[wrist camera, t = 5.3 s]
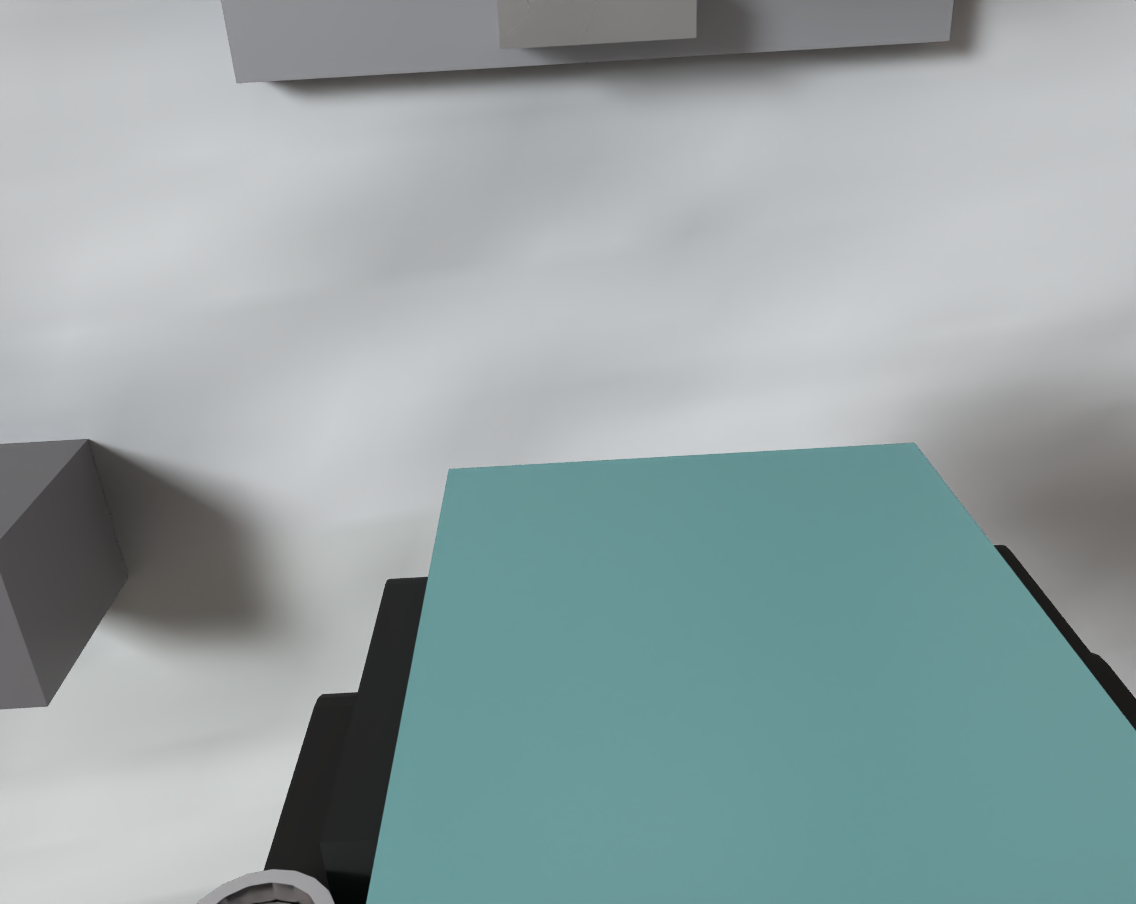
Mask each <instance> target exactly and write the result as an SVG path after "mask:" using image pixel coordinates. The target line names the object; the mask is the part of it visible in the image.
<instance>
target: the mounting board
mask: <svg viewBox="0 0 1136 904" xmlns="http://www.w3.org/2000/svg"><path fill="white" fill-rule="evenodd" d="M953 2H954V0H697V12H696V38H685V39H668V40H651V41H634V42H617V43H600V44H583V45H566V46H549V47H532V48H515V49H500V39H499V26H498V12H497V0H221V3H222V8H223V14H224V19H225V24H226V30H227V35H228V40H229V46H230V51H231V56H232V62H233V67H234V72H235V77H236V83H248V82H265V81H282V80H299V79H316V78H333V77H350V76H366V75H383V74H400V73H417V72H434V71H451V70H468V69H485V68H502V67H519V66H536V65H553V64H570V63H587V62H604V61H621V60H637V59H654V58H671V57H688V56H705V55H722V54H739V53H756V52H773V51H790V50H807V49H824V48H841V47H858V46H875V45H892V44H908V43H925V42H942V41H949V39H950V30H951V21H952V12H953Z"/></svg>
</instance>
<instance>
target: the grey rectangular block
mask: <svg viewBox="0 0 1136 904" xmlns="http://www.w3.org/2000/svg"><path fill="white" fill-rule="evenodd" d="M127 578H128V575H127V572H126V568H125V565H124V562H123V558H122V555H121V551H120V548H119V544H118V541H117V537H116V534H115V531H114V527H113V524H112V520H111V517H110V513H109V510H108V506H107V503H106V500H105V496H104V493H103V489H102V486H101V482H100V479H99V475H98V472H97V469H96V465H95V462H94V458H93V455H92V451H91V448H90V444H89V441H88V439H81V440H63V441H46V442H29V443H12V444H0V709H13V708H30V707H46V706H48V705H49V703H50V702H51V700H52V699H53V697H54V695H55V694H56V692H57V691H58V689H59V687H60V686H61V684H62V683H63V681H64V679H65V678H66V676H67V675H68V673H69V671H70V670H71V668H72V667H73V665H74V663H75V662H76V660H77V659H78V657H79V655H80V654H81V652H82V650H83V649H84V647H85V646H86V644H87V642H88V641H89V639H90V638H91V636H92V634H93V633H94V631H95V630H96V628H97V626H98V625H99V623H100V622H101V620H102V618H103V617H104V615H105V614H106V612H107V610H108V609H109V607H110V606H111V604H112V602H113V601H114V599H115V598H116V596H117V594H118V593H119V591H120V590H121V588H122V586H123V585H124V583H125V582H126V580H127Z"/></svg>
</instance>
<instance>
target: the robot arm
mask: <svg viewBox="0 0 1136 904" xmlns="http://www.w3.org/2000/svg"><path fill="white" fill-rule="evenodd" d="M993 546H994V547H995V548H996V549H997V551H998V552H999V553H1000V555H1001V556H1002V557H1003V559H1004V560H1005V561H1006V562H1007V564H1008V565H1009V566H1010V568H1011V569H1012V570H1013V572H1014V573H1015V574H1016V575H1017V577H1018V578H1019V579H1020V581H1021V582H1022V583H1023V585H1024V586H1025V587H1026V589H1027V590H1028V591H1029V592H1030V594H1031V595H1032V596H1033V598H1034V599H1035V600H1036V602H1037V603H1038V604H1039V605H1040V607H1041V608H1042V609H1043V611H1044V612H1045V613H1046V615H1047V616H1048V617H1049V618H1050V620H1051V621H1052V622H1053V624H1054V625H1055V626H1056V628H1057V629H1058V630H1059V631H1060V633H1061V634H1062V635H1063V637H1064V638H1065V639H1066V641H1067V642H1068V643H1069V645H1070V646H1071V647H1072V648H1073V650H1074V651H1075V652H1076V654H1077V655H1078V656H1079V658H1080V659H1081V660H1082V661H1083V663H1084V664H1085V665H1086V667H1087V668H1088V669H1089V671H1090V672H1091V673H1092V674H1093V676H1094V677H1095V678H1096V680H1097V681H1098V682H1099V684H1100V685H1101V686H1102V687H1103V689H1104V690H1105V691H1106V693H1107V694H1108V695H1109V697H1110V698H1111V699H1112V701H1113V702H1114V703H1115V704H1116V706H1117V707H1118V708H1119V710H1120V711H1121V712H1122V714H1123V715H1124V716H1125V717H1126V719H1127V720H1128V721H1129V723H1130V724H1131V725H1132V727H1133V728H1134V729H1135V730H1136V699H1135V697H1134V696H1133V695H1132V694H1131V692H1130V691H1129V690H1128V689H1127V687H1126V686H1125V685H1124V684H1123V682H1122V681H1121V680H1120V679H1119V677H1118V676H1117V675H1116V674H1115V672H1114V671H1113V670H1112V669H1111V667H1110V666H1109V665H1108V664H1107V663H1106V662H1105V661H1104V660H1103V659H1102V658H1101V657H1100V656H1099V655H1097V654H1094V653H1091V652H1090V651H1089V650H1088V648H1087V647H1086V646H1085V645H1084V643H1083V642H1082V641H1081V639H1080V638H1079V637H1078V636H1077V634H1076V633H1075V632H1074V631H1073V629H1072V628H1071V627H1070V626H1069V624H1068V623H1067V622H1066V620H1065V619H1064V618H1063V617H1062V615H1061V614H1060V613H1059V612H1058V610H1057V609H1056V608H1055V606H1054V605H1053V604H1052V603H1051V601H1050V600H1049V599H1048V598H1047V596H1046V595H1045V594H1044V593H1043V591H1042V590H1041V589H1040V587H1039V586H1038V585H1037V584H1036V582H1035V581H1034V580H1033V579H1032V577H1031V576H1030V575H1029V574H1028V572H1027V571H1026V570H1025V568H1024V567H1023V566H1022V565H1021V563H1020V562H1019V561H1018V560H1017V558H1016V557H1015V556H1014V554H1013V553H1012V552H1011V551H1010V550H1009V549H1008V548H1007V547H1006V546H1004V545H993ZM427 581H428V577H417V578H399V579H388V580H387V582H386V584H385V588H384V592H383V596H382V600H381V604H380V608H379V611H378V615H377V619H376V623H375V627H374V631H373V635H372V639H371V643H370V647H369V651H368V655H367V659H366V663H365V666H364V670H363V674H362V678H361V682H360V686H359V690H358V692H355V693H337V694H322V695H321V696H320V697H319V698H318V699H317V702H316V704H315V706H314V709H313V712H312V716H311V719H310V722H309V725H308V729H307V732H306V735H305V738H304V741H303V745H302V748H301V751H300V754H299V758H298V761H297V764H296V767H295V771H294V774H293V777H292V780H291V784H290V787H289V790H288V793H287V797H286V800H285V803H284V806H283V810H282V813H281V816H280V819H279V823H278V826H277V829H276V832H275V836H274V839H273V842H272V845H271V849H270V852H269V855H268V858H267V862H266V865H265V868H264V871H261V872H255V873H250V874H246V875H244V876H241V877H239V878H237V879H234V880H232V881H230V882H227V883H225V884H223V885H221V886H220V887H218V888H217V889H215V890H214V891H213V892H211V893H210V894H208V895H207V896H205V897H204V898H202V899H201V900H200V901H199V902H198V903H197V904H366V901H367V896H368V891H369V886H370V880H371V875H372V870H373V865H374V859H375V854H376V849H377V844H378V838H379V833H380V828H381V823H382V817H383V812H384V807H385V802H386V796H387V791H388V786H389V781H390V775H391V770H392V765H393V760H394V754H395V749H396V744H397V739H398V733H399V728H400V723H401V718H402V712H403V707H404V702H405V697H406V691H407V686H408V681H409V676H410V670H411V665H412V660H413V655H414V649H415V644H416V639H417V634H418V628H419V623H420V618H421V613H422V607H423V602H424V597H425V591H426V586H427Z"/></svg>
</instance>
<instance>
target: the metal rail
mask: <svg viewBox="0 0 1136 904" xmlns="http://www.w3.org/2000/svg"><path fill="white" fill-rule="evenodd" d="M497 12H498V26H499V39H500V49H515V48H532V47H549V46H566V45H583V44H600V43H617V42H634V41H651V40H668V39H685V38H696V12H697V0H497Z"/></svg>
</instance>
